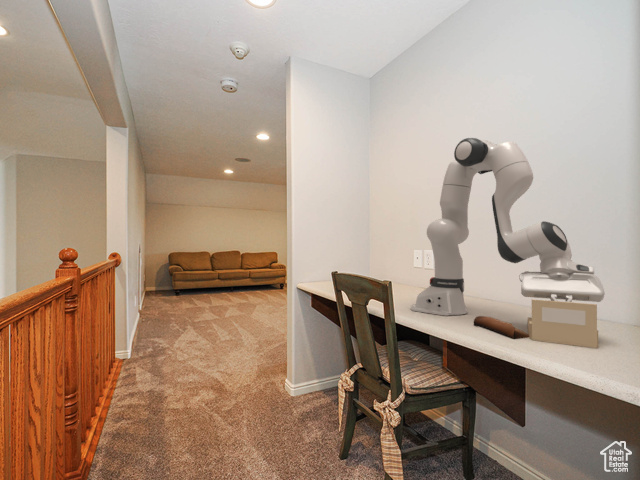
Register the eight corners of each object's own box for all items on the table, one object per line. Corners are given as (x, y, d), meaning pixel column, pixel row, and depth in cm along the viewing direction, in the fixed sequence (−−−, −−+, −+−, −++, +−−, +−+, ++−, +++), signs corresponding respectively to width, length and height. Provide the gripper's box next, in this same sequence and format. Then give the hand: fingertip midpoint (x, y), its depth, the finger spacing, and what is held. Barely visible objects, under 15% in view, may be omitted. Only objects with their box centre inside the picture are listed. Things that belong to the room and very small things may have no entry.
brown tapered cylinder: (537, 338, 99) (527, 320, 98) (520, 351, 97) (511, 333, 96) (493, 323, 116) (484, 308, 115) (478, 334, 115) (470, 319, 114)
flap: (531, 340, 96) (531, 299, 96) (531, 339, 97) (531, 299, 97) (597, 348, 88) (596, 304, 88) (596, 347, 89) (596, 304, 89)
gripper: (519, 265, 106) (521, 299, 97) (600, 267, 95) (610, 306, 87) (518, 277, 109) (520, 311, 101) (596, 281, 99) (605, 319, 91)
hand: (562, 309), depth 94 cm, fingers closed
